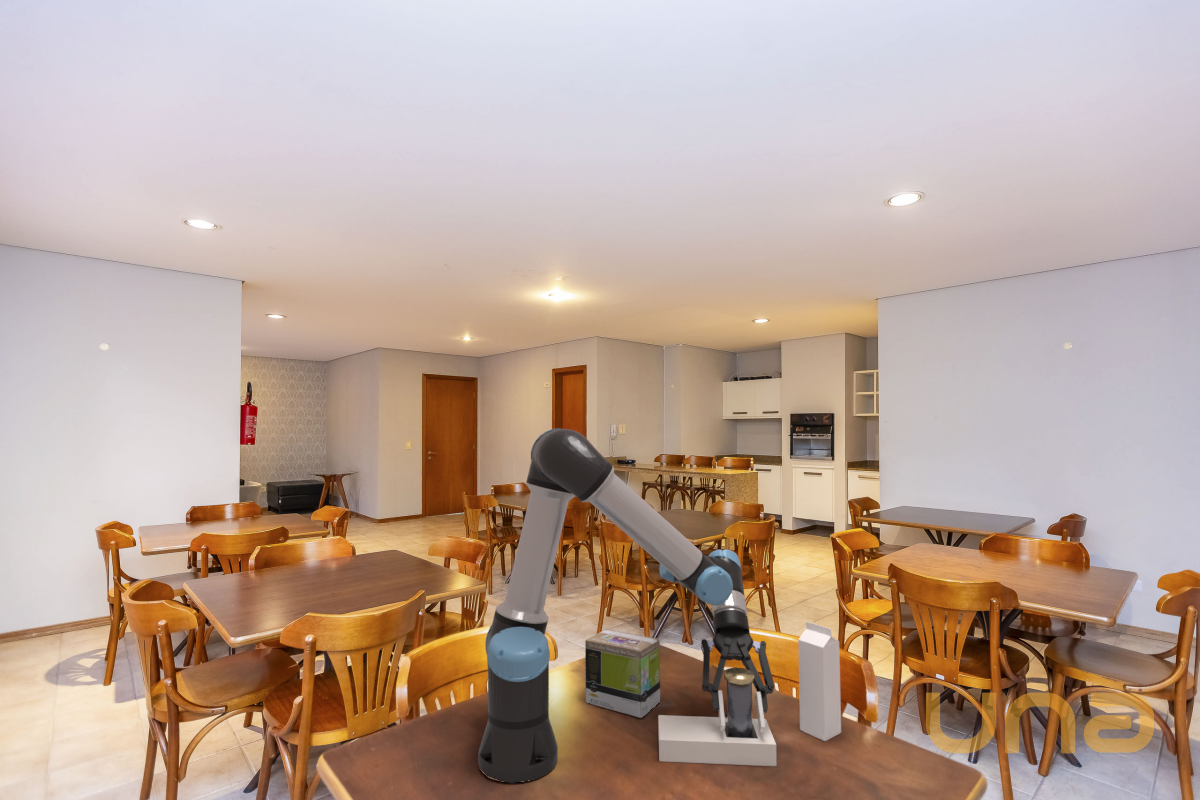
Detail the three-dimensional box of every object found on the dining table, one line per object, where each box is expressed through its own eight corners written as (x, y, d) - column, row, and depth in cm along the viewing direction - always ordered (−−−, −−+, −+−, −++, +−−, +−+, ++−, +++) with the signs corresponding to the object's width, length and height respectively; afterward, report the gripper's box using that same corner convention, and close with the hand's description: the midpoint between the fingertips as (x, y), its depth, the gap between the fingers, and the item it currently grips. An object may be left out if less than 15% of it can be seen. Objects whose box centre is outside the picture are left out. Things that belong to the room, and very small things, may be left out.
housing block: (659, 761, 114) (659, 739, 115) (658, 734, 124) (658, 715, 125) (776, 766, 113) (776, 744, 113) (766, 738, 123) (765, 719, 123)
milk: (825, 742, 122) (822, 632, 122) (799, 730, 126) (797, 624, 127) (841, 732, 125) (839, 626, 126) (816, 721, 130) (814, 618, 131)
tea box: (661, 702, 139) (661, 638, 140) (640, 720, 131) (640, 651, 131) (606, 687, 147) (606, 626, 148) (583, 703, 139) (583, 638, 139)
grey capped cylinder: (727, 758, 115) (726, 679, 116) (723, 742, 121) (722, 667, 122) (757, 759, 115) (756, 680, 116) (752, 743, 121) (751, 668, 122)
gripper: (773, 625, 134) (792, 738, 117) (684, 623, 135) (689, 734, 118) (778, 608, 129) (798, 723, 112) (685, 606, 130) (691, 719, 113)
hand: (742, 728), depth 115 cm, fingers open, 7 cm apart
